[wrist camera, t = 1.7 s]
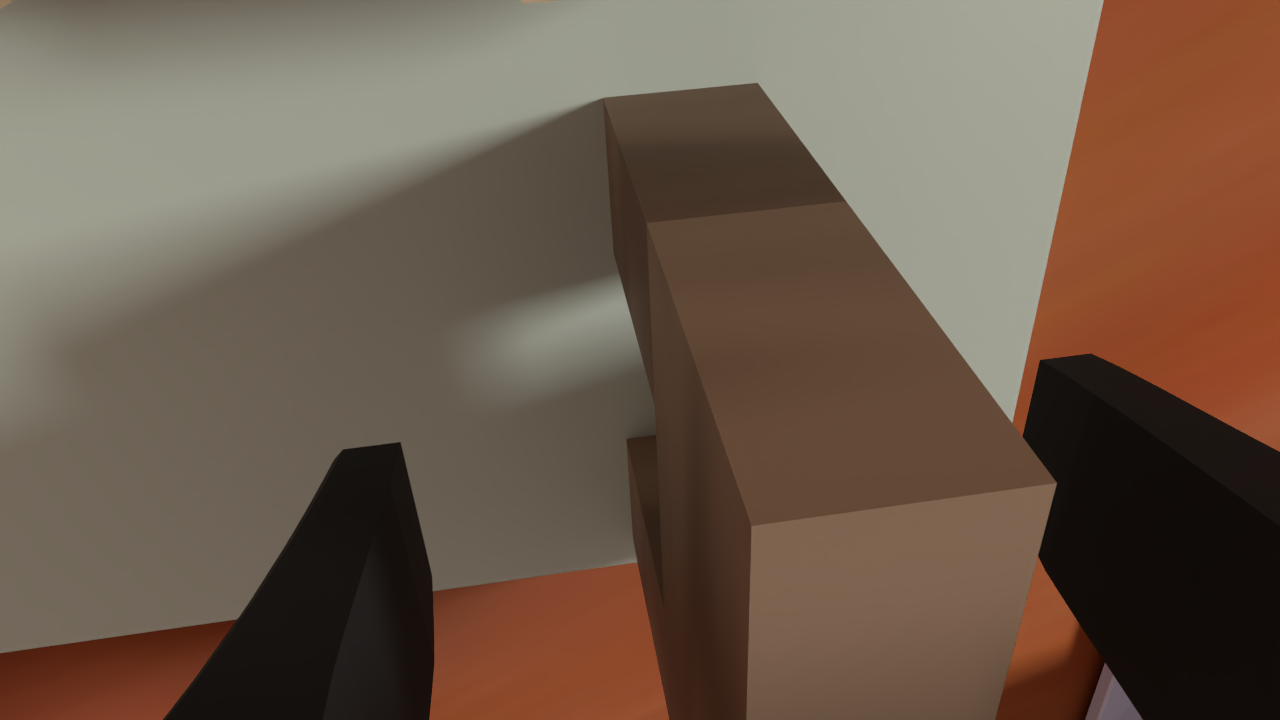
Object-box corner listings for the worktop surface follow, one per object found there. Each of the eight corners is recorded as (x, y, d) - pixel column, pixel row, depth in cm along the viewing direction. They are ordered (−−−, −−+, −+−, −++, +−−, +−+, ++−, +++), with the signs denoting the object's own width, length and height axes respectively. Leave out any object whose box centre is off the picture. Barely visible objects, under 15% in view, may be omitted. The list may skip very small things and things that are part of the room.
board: (972, 478, 17) (992, 511, 16) (-24, 617, 15) (-46, 660, 15) (1204, -710, 9) (1264, -744, 8) (-844, -676, 7) (-974, -710, 7)
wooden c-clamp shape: (747, 523, 15) (916, 1018, 10) (633, 539, 15) (737, 1054, 10) (757, 83, 11) (1058, 483, 6) (603, 97, 11) (752, 526, 6)
